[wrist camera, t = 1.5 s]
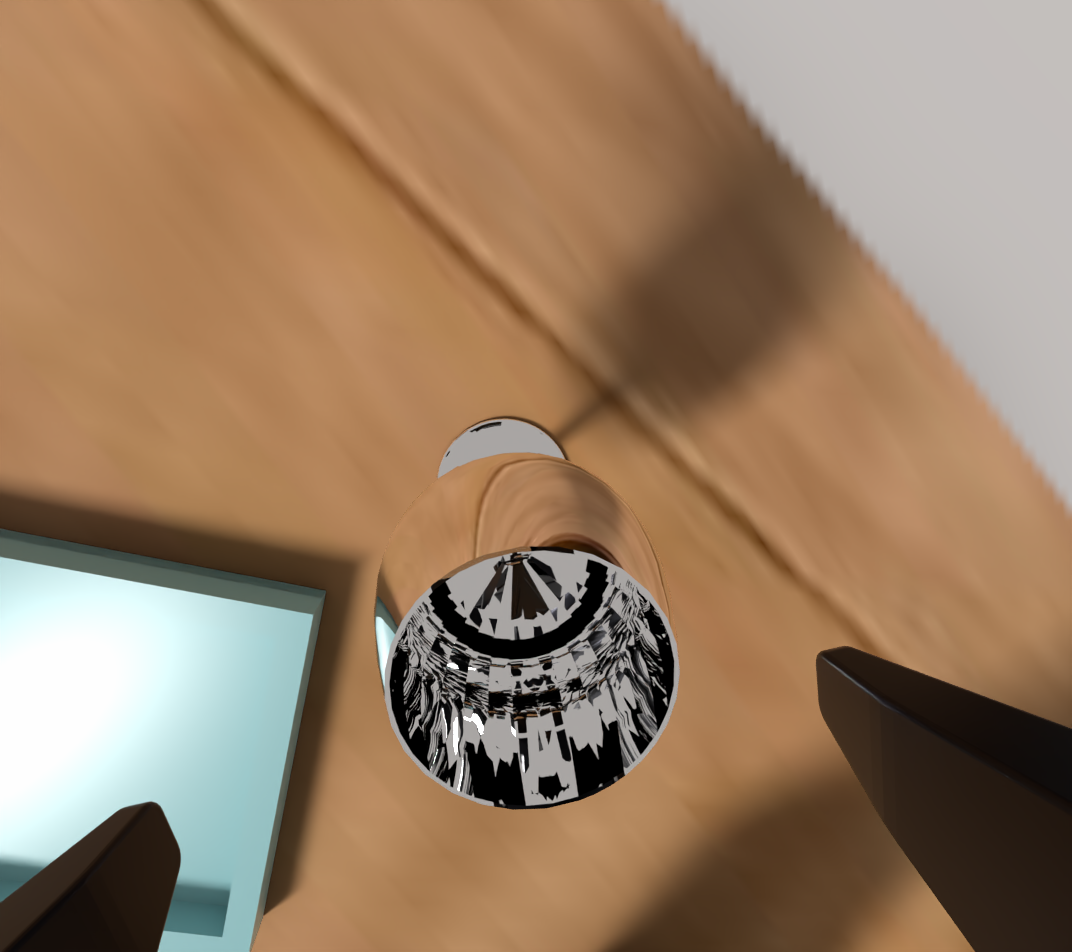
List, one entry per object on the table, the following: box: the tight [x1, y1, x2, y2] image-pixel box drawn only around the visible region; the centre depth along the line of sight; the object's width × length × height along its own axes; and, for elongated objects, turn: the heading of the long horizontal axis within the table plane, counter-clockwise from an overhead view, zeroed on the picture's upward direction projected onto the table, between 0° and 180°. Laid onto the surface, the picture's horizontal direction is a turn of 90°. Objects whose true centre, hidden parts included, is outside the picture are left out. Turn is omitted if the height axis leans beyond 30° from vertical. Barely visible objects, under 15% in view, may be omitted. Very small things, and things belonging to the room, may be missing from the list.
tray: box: [0, 529, 326, 952], centre depth 22 cm, size 14×14×2 cm
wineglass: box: [374, 418, 680, 809], centre depth 16 cm, size 6×6×12 cm
